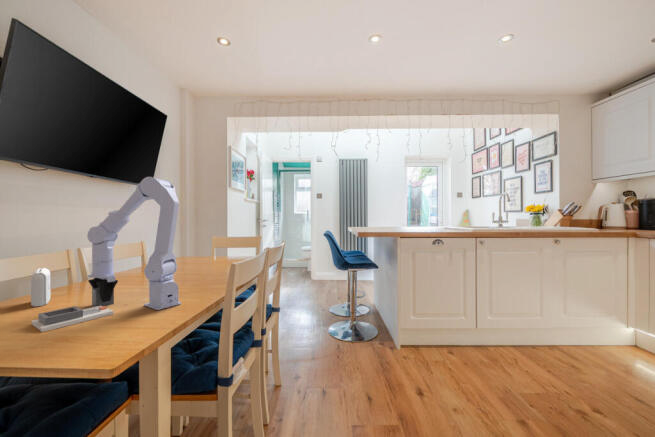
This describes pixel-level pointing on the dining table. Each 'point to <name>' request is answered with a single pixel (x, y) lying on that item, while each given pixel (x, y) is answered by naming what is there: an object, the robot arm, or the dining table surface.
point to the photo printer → (40, 287)
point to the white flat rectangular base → (68, 317)
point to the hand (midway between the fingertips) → (103, 299)
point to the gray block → (97, 298)
